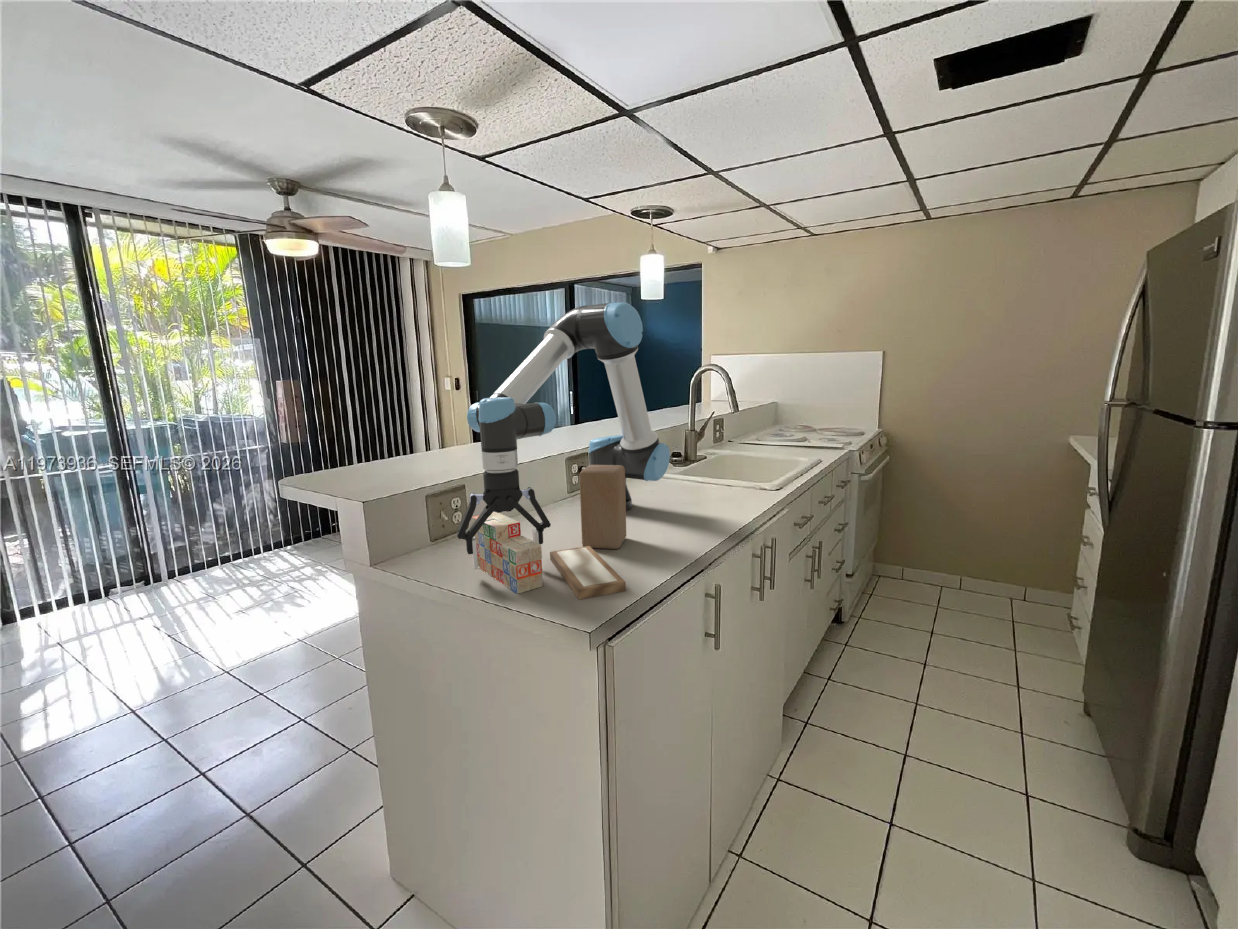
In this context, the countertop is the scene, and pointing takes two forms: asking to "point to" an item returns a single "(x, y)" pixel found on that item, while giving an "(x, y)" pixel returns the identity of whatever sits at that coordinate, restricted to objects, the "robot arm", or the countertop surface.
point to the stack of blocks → (508, 553)
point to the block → (603, 506)
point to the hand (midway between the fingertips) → (506, 562)
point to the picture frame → (586, 572)
